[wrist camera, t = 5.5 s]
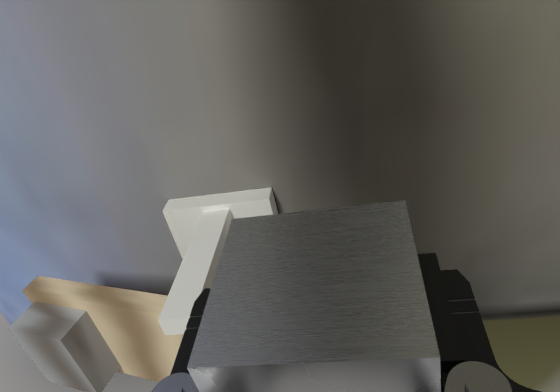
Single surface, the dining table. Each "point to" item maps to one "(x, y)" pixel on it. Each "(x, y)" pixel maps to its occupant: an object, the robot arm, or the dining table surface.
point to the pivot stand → (204, 244)
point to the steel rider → (318, 306)
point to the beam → (94, 333)
